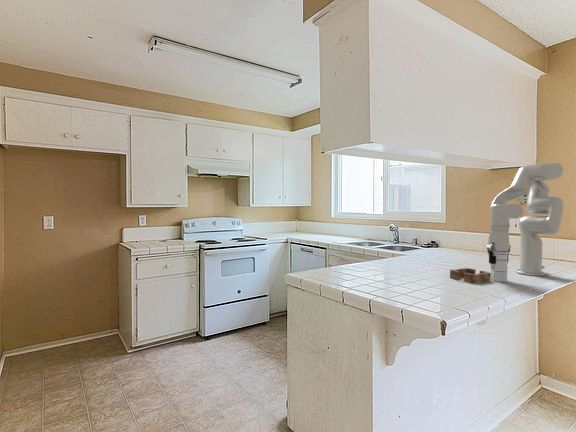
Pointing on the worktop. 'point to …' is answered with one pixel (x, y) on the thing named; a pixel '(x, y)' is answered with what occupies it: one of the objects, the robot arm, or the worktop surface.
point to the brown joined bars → (470, 275)
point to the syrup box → (499, 267)
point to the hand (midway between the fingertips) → (498, 263)
